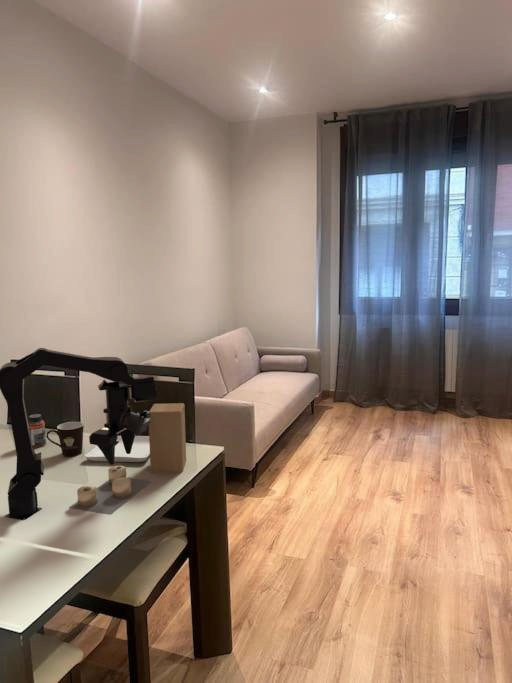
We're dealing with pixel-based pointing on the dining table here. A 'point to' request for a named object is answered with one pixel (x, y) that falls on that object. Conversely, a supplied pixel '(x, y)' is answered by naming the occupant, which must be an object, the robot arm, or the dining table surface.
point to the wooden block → (167, 438)
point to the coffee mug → (69, 438)
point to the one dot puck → (87, 496)
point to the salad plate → (137, 454)
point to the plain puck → (121, 488)
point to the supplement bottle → (37, 430)
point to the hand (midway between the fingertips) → (120, 459)
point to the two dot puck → (116, 473)
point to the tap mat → (106, 497)
